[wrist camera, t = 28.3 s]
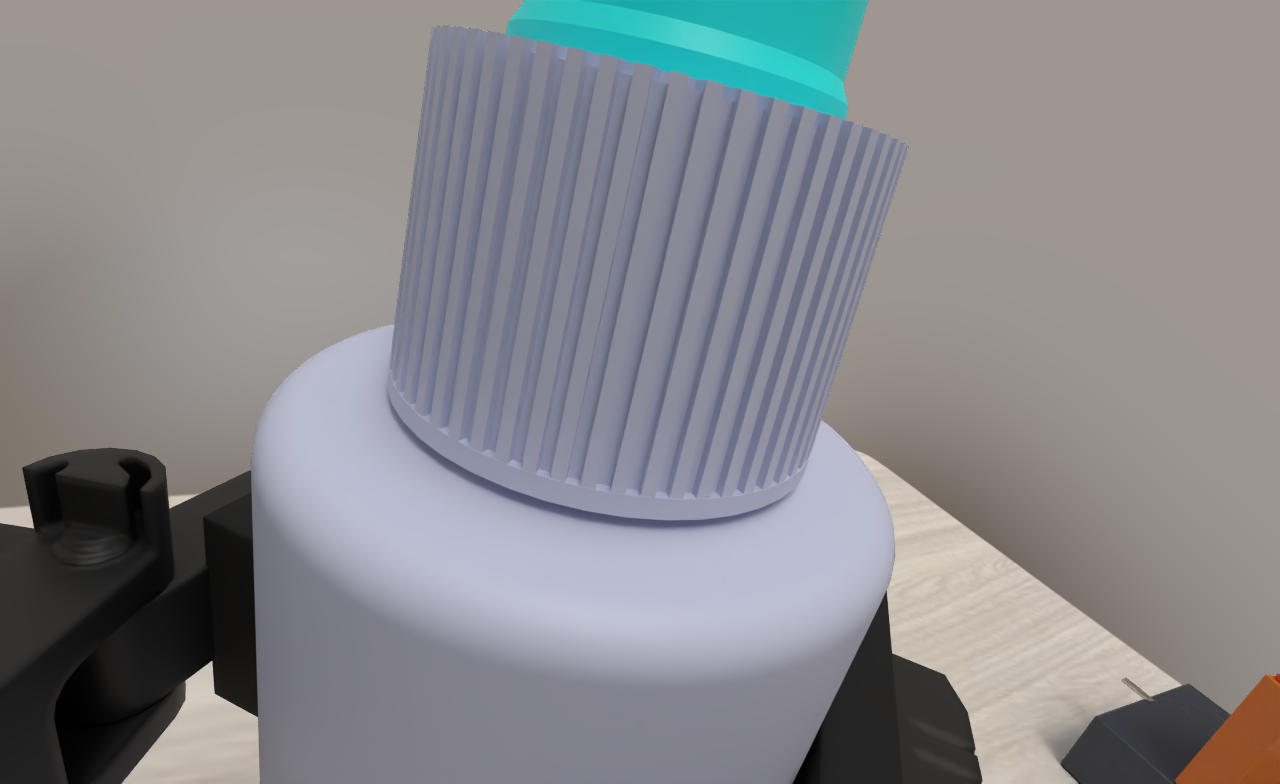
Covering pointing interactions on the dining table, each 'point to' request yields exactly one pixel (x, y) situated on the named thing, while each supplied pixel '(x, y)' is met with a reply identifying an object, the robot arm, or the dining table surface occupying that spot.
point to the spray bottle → (589, 420)
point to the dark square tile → (1145, 738)
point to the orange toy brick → (1243, 743)
